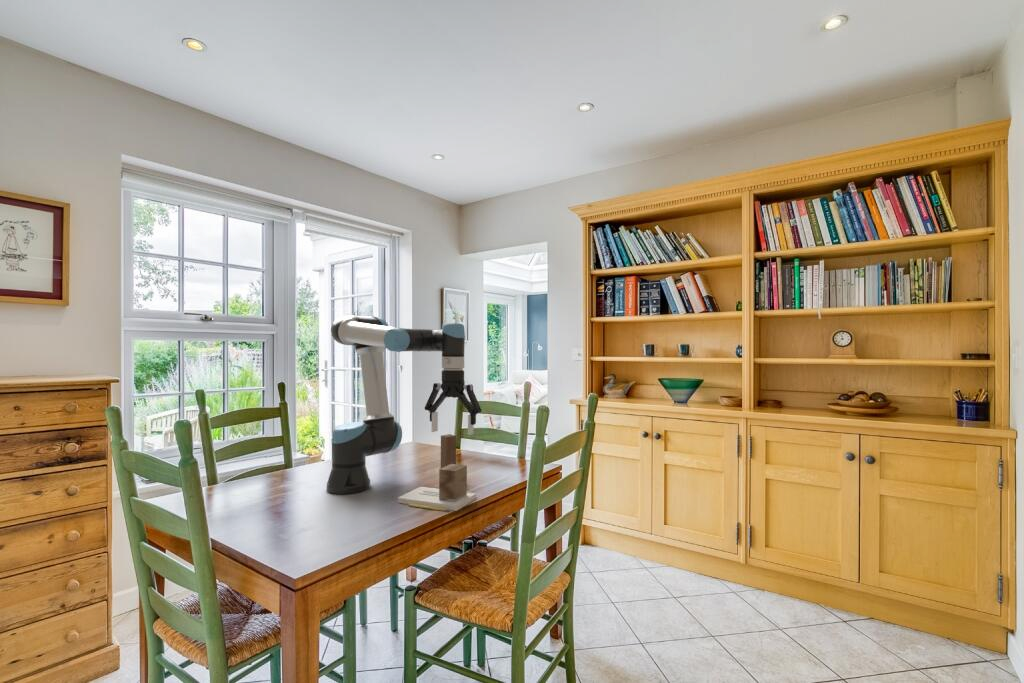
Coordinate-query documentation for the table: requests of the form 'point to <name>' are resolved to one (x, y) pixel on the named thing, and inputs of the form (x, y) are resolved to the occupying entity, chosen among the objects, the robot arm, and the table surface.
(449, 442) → the wooden block
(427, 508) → the pencil
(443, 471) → the block
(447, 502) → the board
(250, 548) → the table surface
